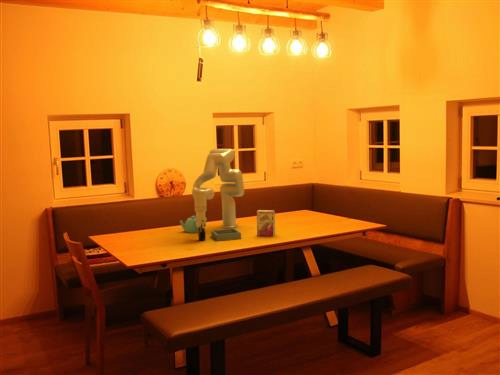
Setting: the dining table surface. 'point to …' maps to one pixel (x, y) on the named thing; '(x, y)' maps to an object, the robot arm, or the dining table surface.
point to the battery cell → (199, 235)
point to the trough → (225, 234)
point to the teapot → (190, 225)
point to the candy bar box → (265, 223)
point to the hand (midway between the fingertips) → (201, 236)
